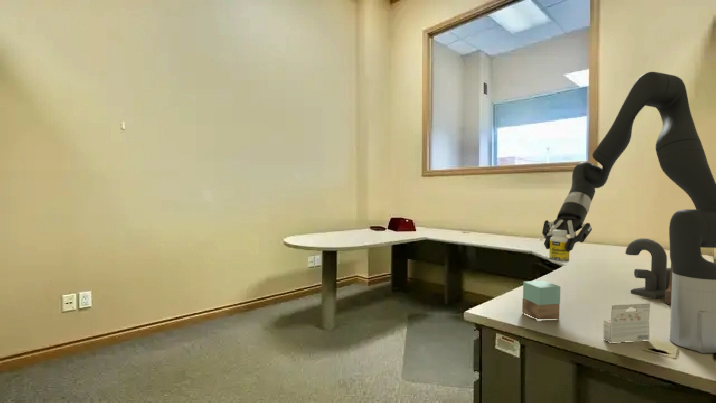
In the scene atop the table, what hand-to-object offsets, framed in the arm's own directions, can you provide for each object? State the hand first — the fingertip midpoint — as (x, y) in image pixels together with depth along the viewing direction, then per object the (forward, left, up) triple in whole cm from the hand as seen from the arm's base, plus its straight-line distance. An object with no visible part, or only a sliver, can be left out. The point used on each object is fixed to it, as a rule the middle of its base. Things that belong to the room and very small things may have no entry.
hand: (556, 248), depth 113 cm
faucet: (+24, -50, -20) cm, 59 cm away
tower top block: (-4, +7, -15) cm, 17 cm away
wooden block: (+9, -48, -20) cm, 53 cm away
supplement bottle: (+1, -1, -4) cm, 5 cm away
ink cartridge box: (-21, -5, -20) cm, 30 cm away
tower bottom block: (-4, +7, -20) cm, 21 cm away
